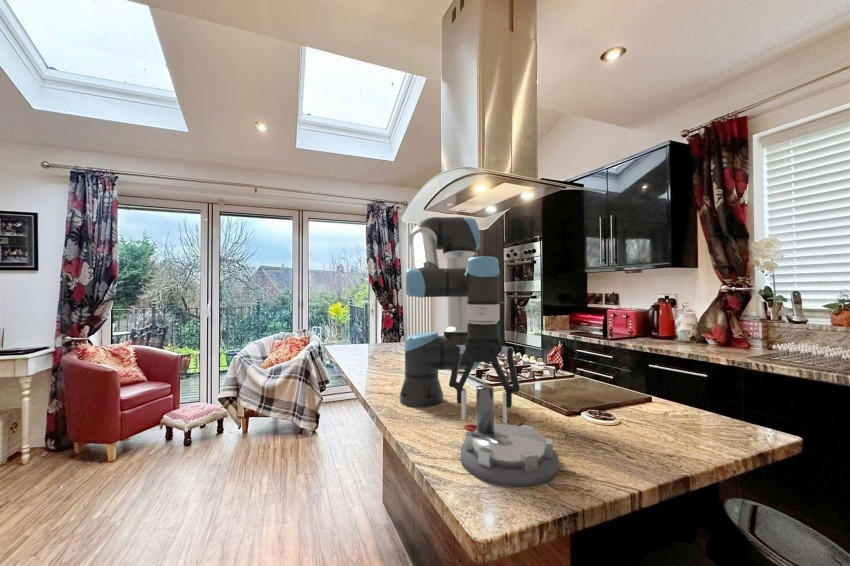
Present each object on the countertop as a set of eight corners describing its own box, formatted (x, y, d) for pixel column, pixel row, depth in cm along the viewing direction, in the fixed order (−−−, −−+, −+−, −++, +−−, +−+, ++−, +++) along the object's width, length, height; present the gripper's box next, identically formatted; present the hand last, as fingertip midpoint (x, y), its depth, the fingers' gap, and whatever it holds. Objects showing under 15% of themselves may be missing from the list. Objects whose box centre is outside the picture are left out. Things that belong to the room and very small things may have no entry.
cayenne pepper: (458, 426, 101) (458, 419, 101) (472, 424, 103) (472, 417, 103) (484, 442, 90) (484, 434, 90) (498, 439, 92) (498, 431, 92)
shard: (514, 433, 96) (514, 426, 96) (488, 427, 101) (487, 420, 101) (527, 421, 105) (527, 414, 105) (502, 416, 110) (502, 410, 110)
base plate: (468, 437, 92) (468, 428, 92) (554, 446, 87) (554, 437, 87) (452, 478, 72) (452, 467, 72) (563, 493, 66) (563, 481, 66)
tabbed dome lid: (450, 452, 79) (450, 393, 79) (497, 429, 92) (496, 378, 93) (523, 481, 67) (522, 411, 67) (564, 449, 80) (563, 391, 80)
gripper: (435, 322, 83) (435, 420, 83) (531, 324, 77) (532, 429, 77) (442, 320, 90) (442, 410, 90) (530, 321, 85) (532, 418, 84)
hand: (484, 419), depth 83 cm, fingers open, 9 cm apart
